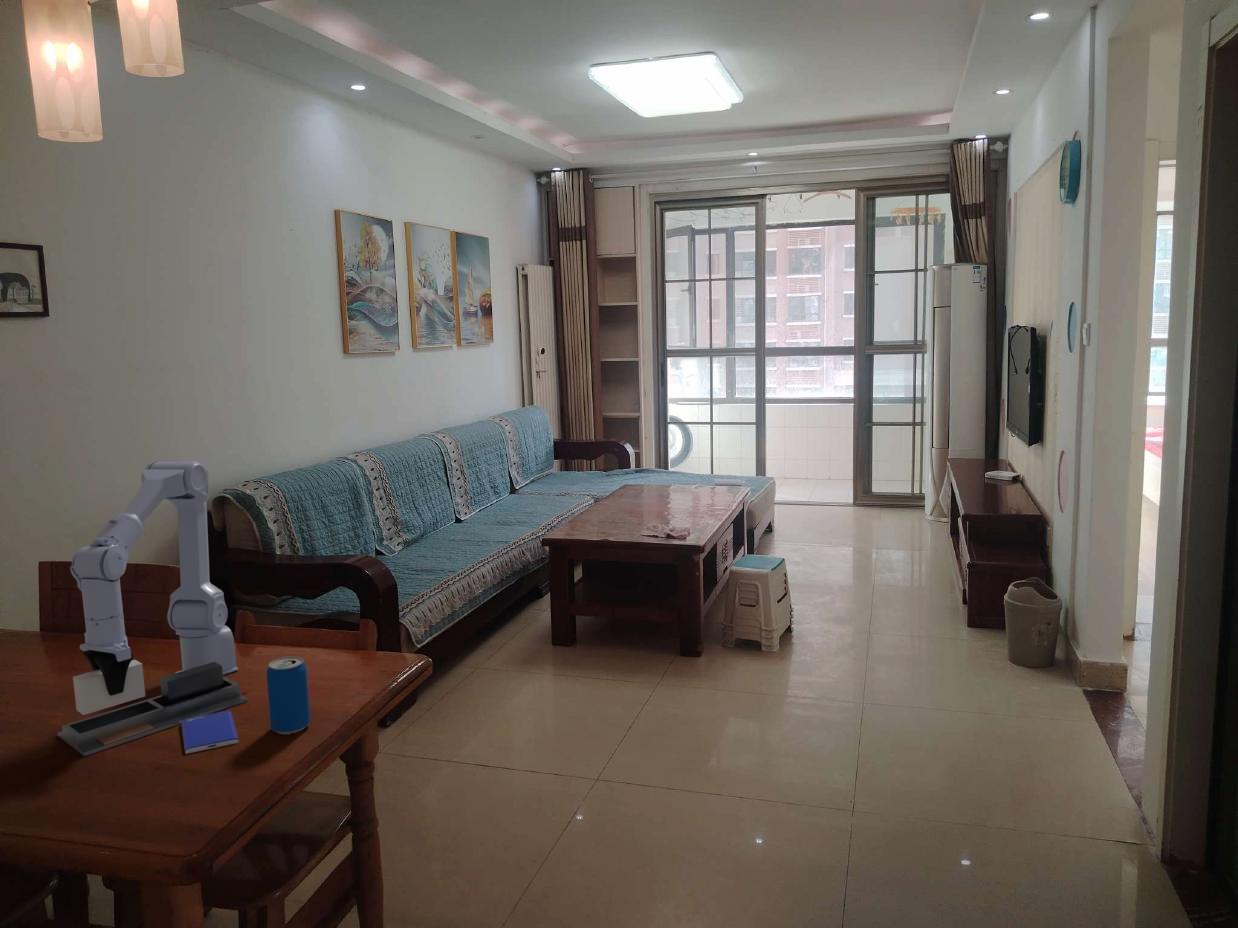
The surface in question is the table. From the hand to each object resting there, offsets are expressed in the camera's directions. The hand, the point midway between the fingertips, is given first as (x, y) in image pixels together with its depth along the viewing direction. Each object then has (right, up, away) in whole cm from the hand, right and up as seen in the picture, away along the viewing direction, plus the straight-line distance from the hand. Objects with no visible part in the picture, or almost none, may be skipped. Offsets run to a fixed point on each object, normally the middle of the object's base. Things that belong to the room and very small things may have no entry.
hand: (112, 690), depth 157 cm
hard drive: (+17, -8, 0) cm, 19 cm away
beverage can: (+30, -7, +1) cm, 31 cm away
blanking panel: (0, -2, 0) cm, 2 cm away
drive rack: (+4, -6, +6) cm, 10 cm away
